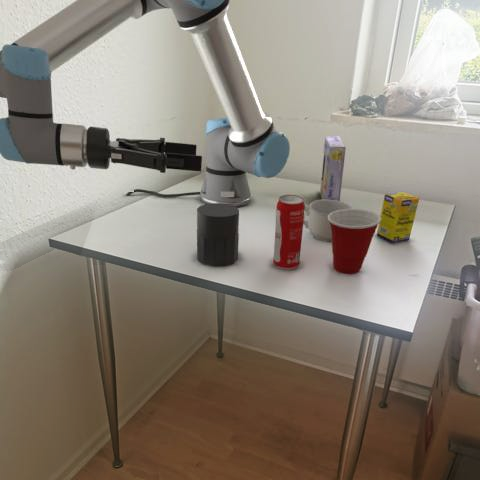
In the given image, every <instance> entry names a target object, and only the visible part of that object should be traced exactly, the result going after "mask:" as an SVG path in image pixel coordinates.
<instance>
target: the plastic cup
mask: <svg viewBox="0 0 480 480" xmlns="http://www.w3.org/2000/svg"><path fill="white" fill-rule="evenodd" d="M380 216H381V214H378V213H377V212H374V211H372V210H368V209H361V208H353V209H343V210H337V211H334V212H331V213H330V214H329V215H328V221H329V222H330V225H331V231H332V241H331V249H332V250H331V252H332V264H333V265H332V266H333V269H334V270H335V271H336V272H338V273H340V274H344V275H345V274H346V275H355V274H358V273H359V272H361V271H360V270H361V269H362V267H363V264H364V261H365V259H366V257H367V254H368V253H369V252H368V251H369V249H370V246H371V243H372V240H373V238H374V235H375V233H376V230H377V229H378V226H379V223H380V221H381V217H380Z"/></svg>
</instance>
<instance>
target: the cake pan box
mask: <svg viewBox="0 0 480 480" xmlns="http://www.w3.org/2000/svg"><path fill="white" fill-rule="evenodd" d="M323 145H324V146H323V159H322V172H321V179H320V188H319V193H320V194H319V195H320V197H321V200H322V199H327V200H328V199H329V200H337V201H341V193H342V183H343V174H344V166H345V160H346V159H345V158H346V149H347V148H346V146H345V145H344V141H343V139H341V137H340V135H333V136H332V135H331V136H329V135H328V136H327V135H326V136H325V137H324V144H323Z"/></svg>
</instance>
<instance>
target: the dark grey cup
mask: <svg viewBox="0 0 480 480" xmlns="http://www.w3.org/2000/svg"><path fill="white" fill-rule="evenodd" d="M239 226H240V209H239V207H235V206H232V205H228V204H221V203H212V204H205V203H204V204H202V205H199V206H198V207H197V208H196V258H197V261H198V262H199V263H201V264H203V265H206V266H211V267H226V266H230V265H233V264H235V263H236V262H238V260H239V239H240V238H239V237H240V233H239Z"/></svg>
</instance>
